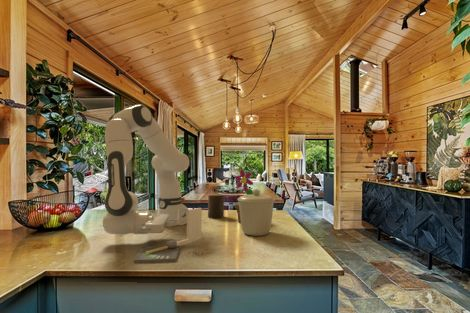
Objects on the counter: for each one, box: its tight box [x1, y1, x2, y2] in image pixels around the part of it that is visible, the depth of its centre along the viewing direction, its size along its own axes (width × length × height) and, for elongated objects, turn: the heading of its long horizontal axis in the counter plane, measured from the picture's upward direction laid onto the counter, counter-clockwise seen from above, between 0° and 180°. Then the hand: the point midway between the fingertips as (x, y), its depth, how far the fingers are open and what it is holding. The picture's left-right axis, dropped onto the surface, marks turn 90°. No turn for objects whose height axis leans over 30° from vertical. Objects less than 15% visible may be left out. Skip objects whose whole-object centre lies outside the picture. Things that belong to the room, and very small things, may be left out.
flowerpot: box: [234, 169, 254, 224], centre depth 155 cm, size 14×14×30 cm
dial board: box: [133, 245, 181, 264], centre depth 100 cm, size 14×14×1 cm
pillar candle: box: [207, 193, 225, 219], centre depth 168 cm, size 10×10×15 cm
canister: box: [236, 188, 276, 237], centre depth 131 cm, size 18×18×21 cm
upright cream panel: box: [145, 207, 203, 254], centre depth 107 cm, size 26×4×13 cm, turn 139°
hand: (177, 222), depth 117 cm, fingers closed
